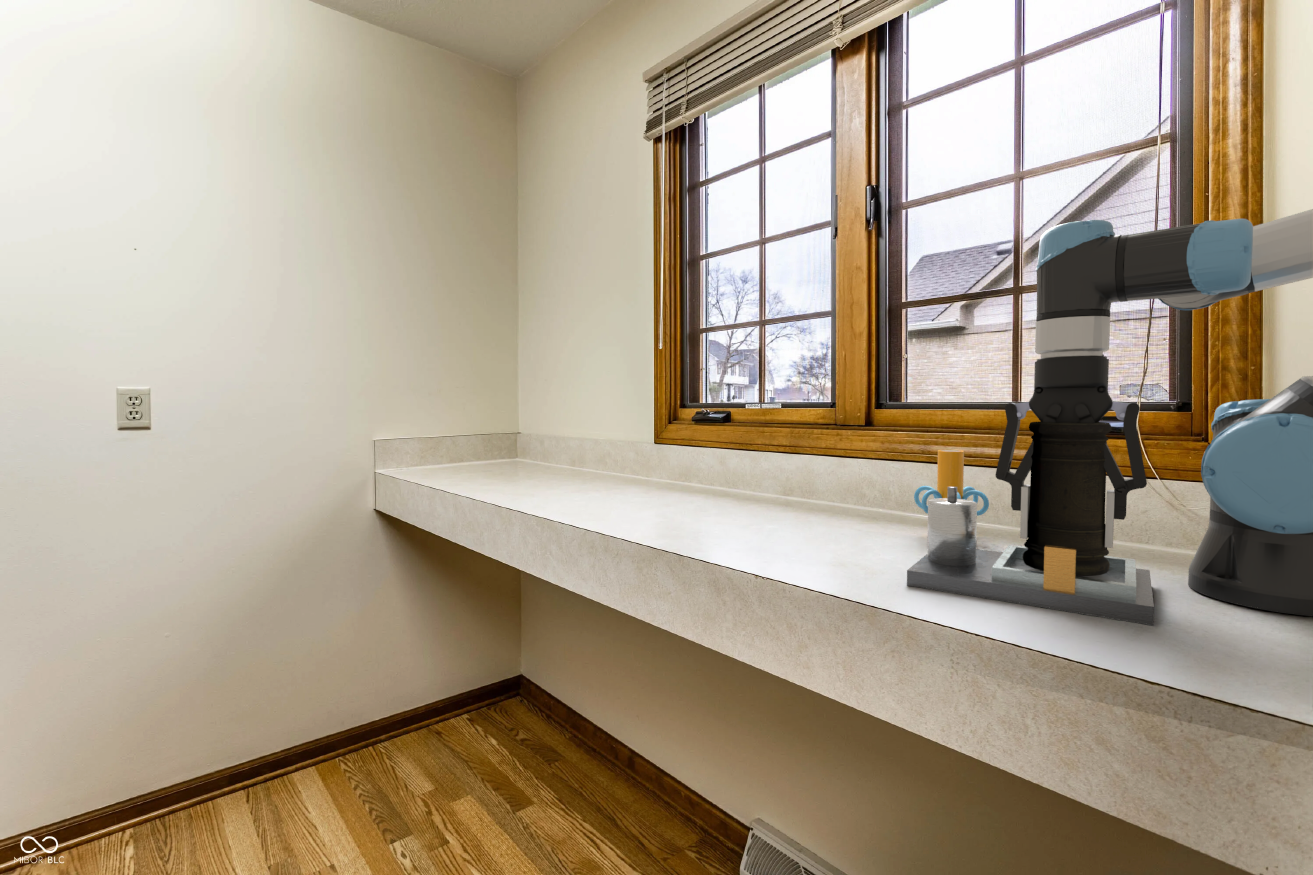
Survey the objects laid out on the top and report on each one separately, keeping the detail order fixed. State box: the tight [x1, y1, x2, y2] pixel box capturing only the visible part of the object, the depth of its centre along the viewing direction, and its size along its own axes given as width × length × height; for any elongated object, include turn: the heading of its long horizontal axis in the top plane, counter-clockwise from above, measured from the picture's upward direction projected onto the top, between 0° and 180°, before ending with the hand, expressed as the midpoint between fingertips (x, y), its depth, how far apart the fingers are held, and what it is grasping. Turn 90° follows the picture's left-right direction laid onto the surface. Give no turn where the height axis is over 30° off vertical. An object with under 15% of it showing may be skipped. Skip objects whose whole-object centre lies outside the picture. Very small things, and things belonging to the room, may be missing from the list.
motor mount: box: [906, 487, 1155, 626], centre depth 80 cm, size 25×17×12 cm
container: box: [1023, 421, 1112, 576], centre depth 77 cm, size 9×9×18 cm
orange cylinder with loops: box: [913, 449, 990, 517], centre depth 107 cm, size 12×10×15 cm
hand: (1065, 540), depth 78 cm, fingers closed on container, 8 cm apart
